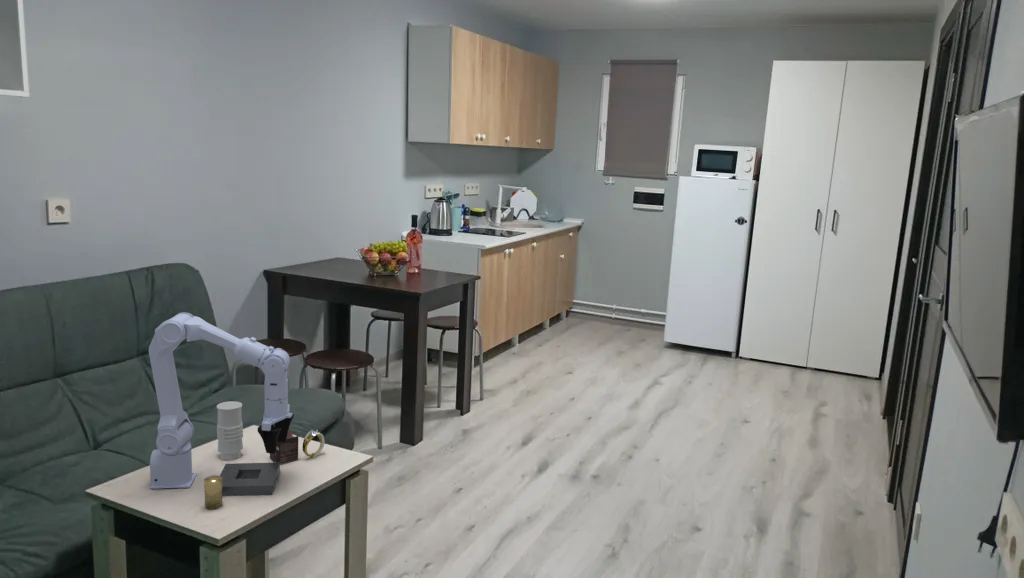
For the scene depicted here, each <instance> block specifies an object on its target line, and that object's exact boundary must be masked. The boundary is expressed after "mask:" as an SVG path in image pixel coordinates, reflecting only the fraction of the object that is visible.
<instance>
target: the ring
mask: <svg viewBox="0 0 1024 578" xmlns="http://www.w3.org/2000/svg"><path fill="white" fill-rule="evenodd" d="M316 436H317V438H318V440H319V441H320V442H319V448H318V449H317V450H316V451H315V452H312V453H310V454H309V452H308V449H307V448H308V446H309V443H310V442H311V441H312V440H313V439H314V437H316ZM324 446H325V437H324V434H323V433H321V432H319V431H318V429H316V430H315V431H314V429H311V430H310V431H307V433H306V435H305V436H304V439H303V442H302V452H303V454H304V455H306V456H307V457H309V458H315V457H317V456H318V455H319V454H320V453H321V452H322V451H323V449H324Z"/></svg>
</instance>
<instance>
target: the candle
mask: <svg viewBox="0 0 1024 578" xmlns="http://www.w3.org/2000/svg"><path fill="white" fill-rule="evenodd" d="M242 407H243V403H242V402H240V401H235V400H234V401H233V400H232V401H231V400H229V401H224V402H220V403H218V404H217V405H216V409H217V424H216V435H217V437H216V439H217V452H218V453H219V456H218V458H219V459H221V460H223V461H233V460H237V459H239V458H241V457H242V450H243V449H244V445H243V444H244V443H243V438H244V427H243V425H244V422H243V420H242V417H243V416H242Z"/></svg>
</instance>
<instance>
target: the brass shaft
mask: <svg viewBox="0 0 1024 578" xmlns="http://www.w3.org/2000/svg"><path fill="white" fill-rule="evenodd" d="M203 483H204V485H203V486H204V488H203V489H204V490H203V491H204V509H206V510H207V511H208V510H209V511H213V510H218V509H220V508H222V507H223V504H224V503H223V502H224V501H223V500H224V499H223V496H222V477H221V476H220V475H209V476H207V477H205V478H204V480H203Z"/></svg>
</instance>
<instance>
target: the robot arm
mask: <svg viewBox="0 0 1024 578" xmlns="http://www.w3.org/2000/svg"><path fill="white" fill-rule="evenodd" d="M151 339H152V340H151V342H150V344H149V346H148V355H149V361H150V366H151V372H152V377H153V381H154V387H155V394H156V399H157V405H158V410H159V417H160V418H159V421H158V425H157V436H156V440H155V445H156V448H157V449H153V450H152V452H151V455H150V458H149V459H150V460H149V471H150V472H149V474H150V485H149V486H150V487H149V489H152V490H153V489H185V488H186V489H187V488H190V487H191V485H192V484H193V482H194V481H195V479H196V477H197V476H198V473H197V472H193V462H192V461H193V460H192V459H193V458H192V457H193V456H192V444H191V438H193V436H194V434H195V427H194V425H193V423H192V422H191V421H190V419H189V414H188V413H187V412H186V411H185V410H184V409H183V403H182V402H183V401H182V397H181V391H180V385H179V380H178V379H179V378H178V375H177V369H176V363H175V358H174V351H175V350H176V349H177V348H178V347H179V345H180V344H181V343H182V342H183V341H184V340H186V342H187V343H189V342H194V341H199V340H203V341H207V342H209V343H211V344H214V345H217V346H219V347H222V348H225V349H228V350H230V351H232V352H233V353H234V355H235V358H236V359H238V360H240V361H243V362H245V363H247V364H250V365H252V366H254V367H257V368H259V369H261V371H262V372H263V374H264V382H263V383H264V412H263V420H262V422H261V425H259V426H258V427H257V433H258V434H259V436H260V438H261V440H262V443H263V445H264V449H265V453H266V454H270V453H272V454H274V453H275V452H276V447H277V442H285V441H286V439H287V435H288V430H290V426H291V424H292V421H293V420H294V416H295V414H294V413H292V412H290V411H291V410H290V409H291V408H290V407H291V404H289V378H288V377H289V376H288V375H289V374H288V369H287V368H288V367H289V365H290V362H291V358H290V355H289V353H288V352H287V351H286V350H284V349H283V348H280V347H277V348H275V347H274V346H272V345H269V346H268V345H265V344H263V343H261V342H259V341H257V338H256V337H254V336H251V337H248V336H247V337H243V338H239V337H237V336H235V335H233V334H230V333H229V332H227V331H225V330H223V329H221V328H219V327H217V326H215V325H213V324H211V323H209V322H207V321H206V320H204V319H203V318H201V317H199V316H196V315H193V314H191V313H190V312H179V313H177V314H176V315H174V316H173V317H171V318H169V319H167V320H165V321H163V322H162V323H161V324H159V326H157V327H156V328H155V329H154V334H153V337H152V338H151Z"/></svg>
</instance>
